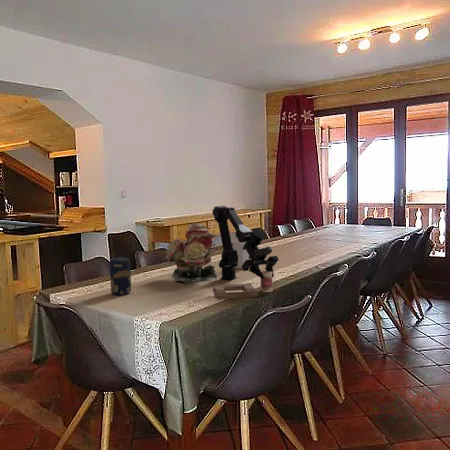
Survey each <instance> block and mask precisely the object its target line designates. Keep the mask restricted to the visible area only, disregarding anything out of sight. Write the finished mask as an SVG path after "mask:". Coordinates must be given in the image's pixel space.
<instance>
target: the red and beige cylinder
mask: <svg viewBox="0 0 450 450" xmlns="http://www.w3.org/2000/svg"><path fill="white" fill-rule="evenodd" d="M260 271H261V272H262V274H263V277H264V279H261V278H260V292H262V293H271V292H273V289H274V288H273V277H272V272H271V271H266V270H263V271H262V270H260Z"/></svg>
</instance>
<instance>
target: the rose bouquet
mask: <svg viewBox="0 0 450 450" xmlns="http://www.w3.org/2000/svg"><path fill="white" fill-rule="evenodd" d="M210 228H211V227H210V226H208V227H206V226H205V225H203V224H200V223H191V224H188V230H186V233H185V234H184V235H185V238H186V242H185V241H182V240H181V239H180V238H179V237H177V238H174V239H172V240H171V241H170V242H169V244H168V245H167V246H166V247H165V248H166V250H164V254H165V255H166V260H167V261H169V262H168V263H169V264H171V263H172V265H173V264H175V265H176V268H175V269H174V271H173V273H172V275H171V278H173V279H174V281H175V282H177V281H178V282H179V281H180V282H183V283H184V284H185V285H188V284H190V285H191V284H196V283H200V282H207V281H208V282H211V281H212V280H215V279H217V278H218V275H217V274H216V272H217V271H216V270H215V266H213V265H212V256H213V253H214V248H213V247H215V246H216V245H217V244H215V243H214V240H213V238H215V237H216V235H215V234H213V233H211V232H209V230H210ZM210 263H211V264H210ZM208 264H209V265H208ZM206 265H207V266H206Z"/></svg>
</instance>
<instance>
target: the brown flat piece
mask: <svg viewBox="0 0 450 450" xmlns="http://www.w3.org/2000/svg"><path fill="white" fill-rule="evenodd" d="M213 288H214V291H215V294H216V297H217V300H223V299H242V298H243V299H244V298H258V297H259V296H258V292H257V290H256V289H255V287H254V286H253V285H252V283H249V282H248V283H232V284H231V283H229V284H214V287H213ZM233 290H234V291H233ZM235 290H243V291H235ZM227 291H230V292H227Z"/></svg>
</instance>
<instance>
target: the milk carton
mask: <svg viewBox="0 0 450 450" xmlns="http://www.w3.org/2000/svg"><path fill="white" fill-rule="evenodd" d="M245 243H246V242H239V241H238V239H237V236H236V235H235V239H234V241H233V243H232V248H233V249H234V250H237V254H238V264H237V267H235V269H238V270H240V269H241V270H243V269H242V265H243V263H244V262H245V260H250V259H249V258H248V257H249V254H248V252H247V250H243V246H244V244H245Z"/></svg>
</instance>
